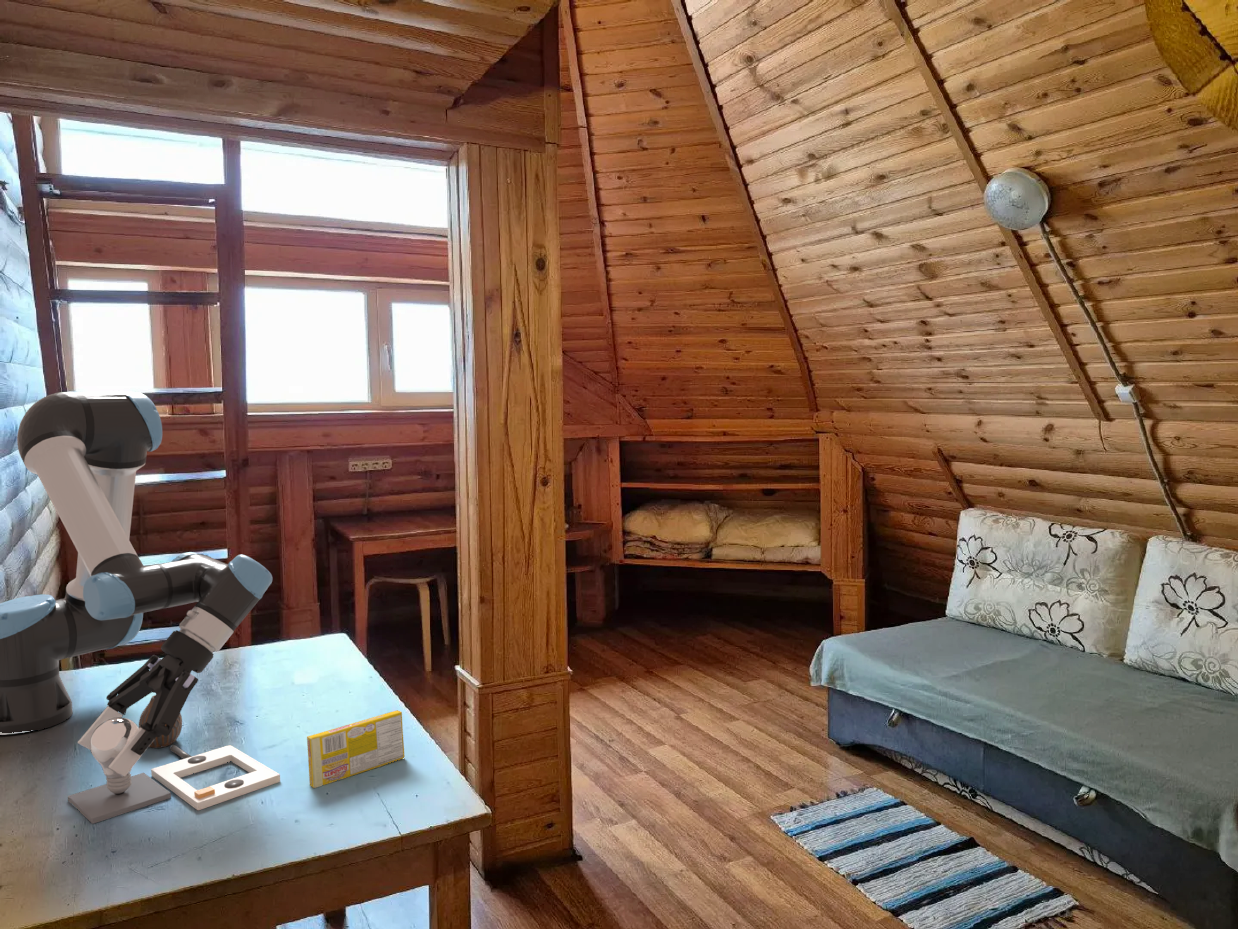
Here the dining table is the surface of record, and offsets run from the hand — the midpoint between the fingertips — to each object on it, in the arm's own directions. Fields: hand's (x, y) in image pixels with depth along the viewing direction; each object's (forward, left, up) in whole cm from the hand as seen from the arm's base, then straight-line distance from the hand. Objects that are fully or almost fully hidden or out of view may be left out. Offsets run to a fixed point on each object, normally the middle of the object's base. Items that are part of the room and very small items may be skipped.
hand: (100, 759), depth 135 cm
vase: (-18, +15, -7) cm, 25 cm away
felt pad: (0, +2, -7) cm, 8 cm away
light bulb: (0, +2, -7) cm, 7 cm away
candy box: (+19, +32, -8) cm, 38 cm away
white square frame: (0, +15, -7) cm, 17 cm away
